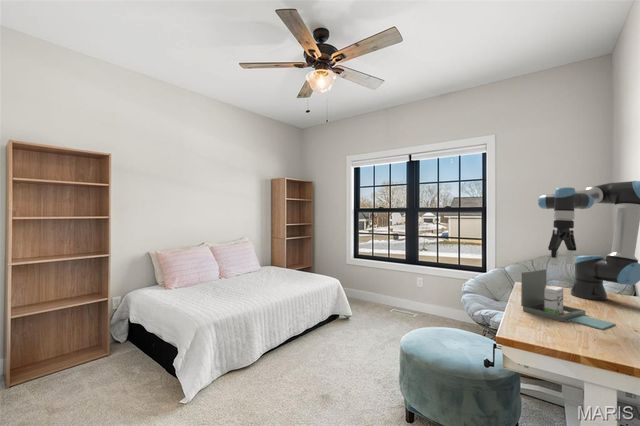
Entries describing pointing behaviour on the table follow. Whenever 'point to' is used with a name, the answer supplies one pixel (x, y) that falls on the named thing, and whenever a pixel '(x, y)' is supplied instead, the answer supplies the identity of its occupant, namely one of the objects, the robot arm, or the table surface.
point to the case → (541, 296)
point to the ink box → (553, 300)
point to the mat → (592, 322)
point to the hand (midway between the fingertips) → (562, 264)
